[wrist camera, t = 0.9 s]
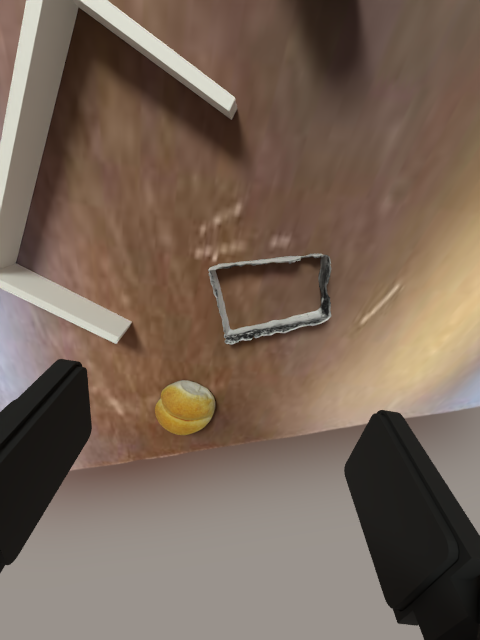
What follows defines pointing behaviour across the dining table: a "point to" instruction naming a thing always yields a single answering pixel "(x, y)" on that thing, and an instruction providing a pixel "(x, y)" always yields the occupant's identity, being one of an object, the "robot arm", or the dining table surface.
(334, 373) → the dining table surface
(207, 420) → the bread roll
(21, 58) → the box
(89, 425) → the robot arm
